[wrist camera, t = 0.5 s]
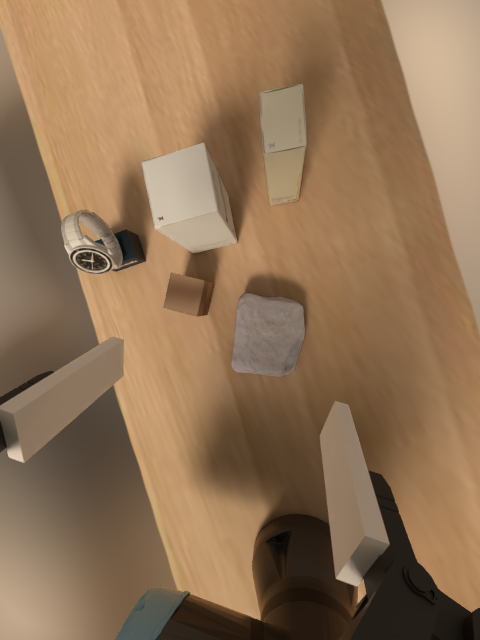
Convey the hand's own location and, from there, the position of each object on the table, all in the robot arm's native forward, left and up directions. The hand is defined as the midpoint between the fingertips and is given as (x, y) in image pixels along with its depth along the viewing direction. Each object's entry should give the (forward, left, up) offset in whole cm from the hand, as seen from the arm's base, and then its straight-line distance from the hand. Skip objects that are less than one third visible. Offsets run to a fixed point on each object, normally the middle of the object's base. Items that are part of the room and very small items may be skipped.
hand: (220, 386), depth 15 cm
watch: (+8, +24, -23) cm, 34 cm away
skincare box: (+23, +2, -23) cm, 33 cm away
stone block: (+1, -2, -24) cm, 24 cm away
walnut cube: (+4, +11, -23) cm, 26 cm away
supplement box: (+15, +11, -23) cm, 30 cm away
